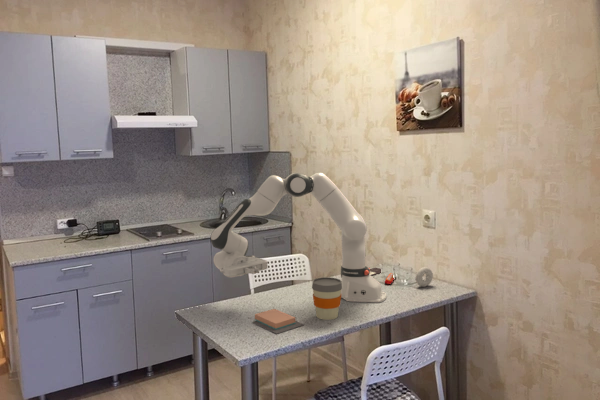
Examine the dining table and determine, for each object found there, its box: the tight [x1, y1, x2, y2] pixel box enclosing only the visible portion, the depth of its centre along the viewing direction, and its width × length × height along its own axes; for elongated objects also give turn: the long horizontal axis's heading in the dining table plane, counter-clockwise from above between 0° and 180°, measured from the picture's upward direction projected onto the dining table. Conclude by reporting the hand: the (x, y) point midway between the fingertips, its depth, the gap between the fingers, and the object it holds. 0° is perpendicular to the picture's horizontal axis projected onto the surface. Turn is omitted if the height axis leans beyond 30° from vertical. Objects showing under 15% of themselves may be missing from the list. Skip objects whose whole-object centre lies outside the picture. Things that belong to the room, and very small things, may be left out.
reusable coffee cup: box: [311, 276, 342, 321], centre depth 210 cm, size 13×13×15 cm
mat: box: [252, 320, 305, 335], centre depth 202 cm, size 16×14×1 cm
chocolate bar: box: [369, 267, 382, 277], centre depth 277 cm, size 9×1×18 cm
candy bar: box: [384, 272, 395, 285], centre depth 261 cm, size 16×4×3 cm, turn 159°
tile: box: [254, 308, 296, 330], centre depth 203 cm, size 2×10×14 cm
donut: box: [415, 266, 434, 288], centre depth 250 cm, size 10×4×10 cm, turn 117°
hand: (256, 271), depth 211 cm, fingers closed
